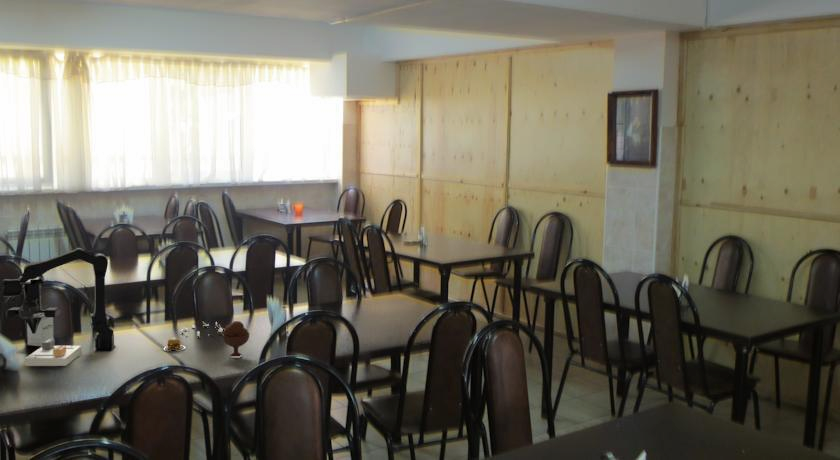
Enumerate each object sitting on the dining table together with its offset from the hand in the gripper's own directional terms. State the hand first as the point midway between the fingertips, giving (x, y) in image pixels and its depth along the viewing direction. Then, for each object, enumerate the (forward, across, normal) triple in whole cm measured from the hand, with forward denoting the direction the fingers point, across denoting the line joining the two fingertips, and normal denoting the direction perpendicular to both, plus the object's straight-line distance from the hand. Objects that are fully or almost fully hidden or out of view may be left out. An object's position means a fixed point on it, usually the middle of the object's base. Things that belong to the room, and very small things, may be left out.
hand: (34, 333), depth 314 cm
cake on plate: (+10, +52, +10) cm, 54 cm away
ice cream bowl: (+9, +79, -1) cm, 80 cm away
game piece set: (+10, +58, +38) cm, 70 cm away
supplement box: (+9, -5, +18) cm, 21 cm away
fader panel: (+9, +9, -5) cm, 14 cm away
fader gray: (+6, +5, 0) cm, 8 cm away
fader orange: (+6, +13, -10) cm, 18 cm away
